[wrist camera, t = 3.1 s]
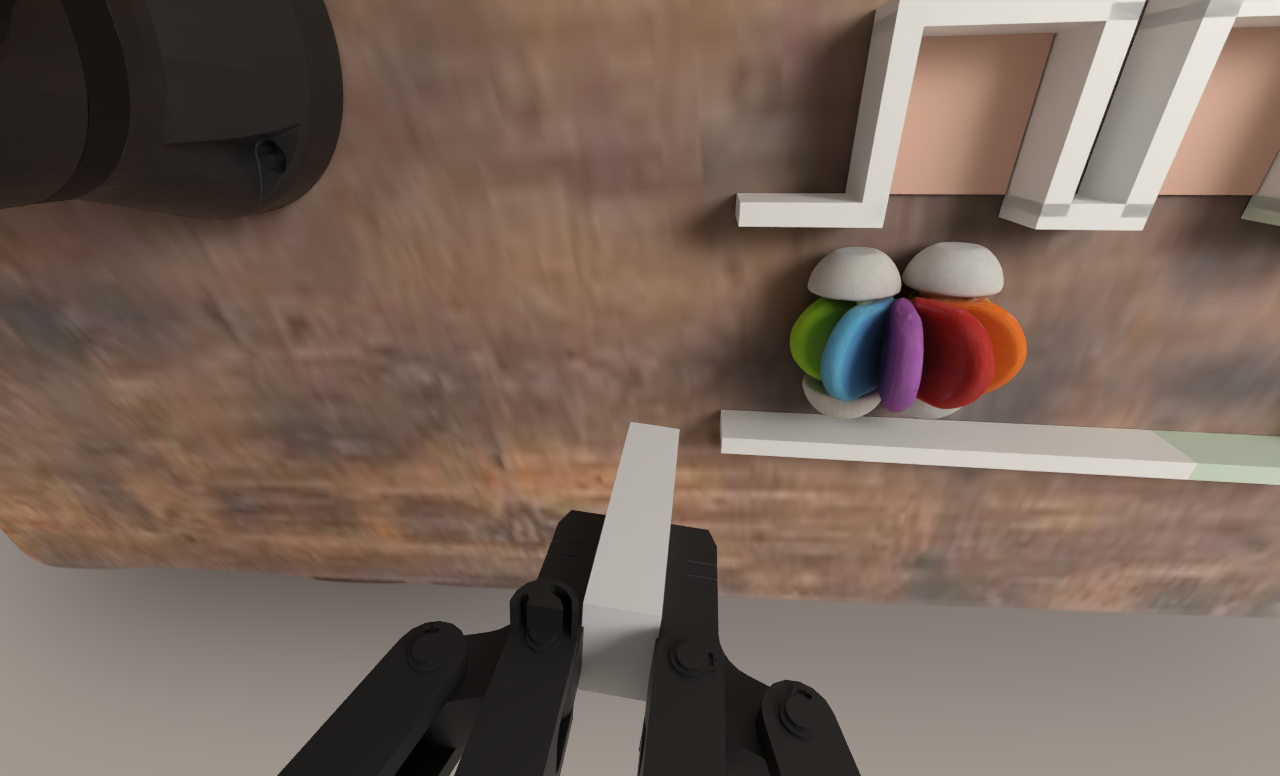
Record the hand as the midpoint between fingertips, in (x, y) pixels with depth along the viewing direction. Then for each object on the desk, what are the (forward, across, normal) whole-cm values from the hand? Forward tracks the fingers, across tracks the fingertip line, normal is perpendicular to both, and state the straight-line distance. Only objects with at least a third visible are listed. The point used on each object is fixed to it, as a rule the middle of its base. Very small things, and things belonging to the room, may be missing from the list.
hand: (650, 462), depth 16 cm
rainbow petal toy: (+14, +11, +1) cm, 17 cm away
